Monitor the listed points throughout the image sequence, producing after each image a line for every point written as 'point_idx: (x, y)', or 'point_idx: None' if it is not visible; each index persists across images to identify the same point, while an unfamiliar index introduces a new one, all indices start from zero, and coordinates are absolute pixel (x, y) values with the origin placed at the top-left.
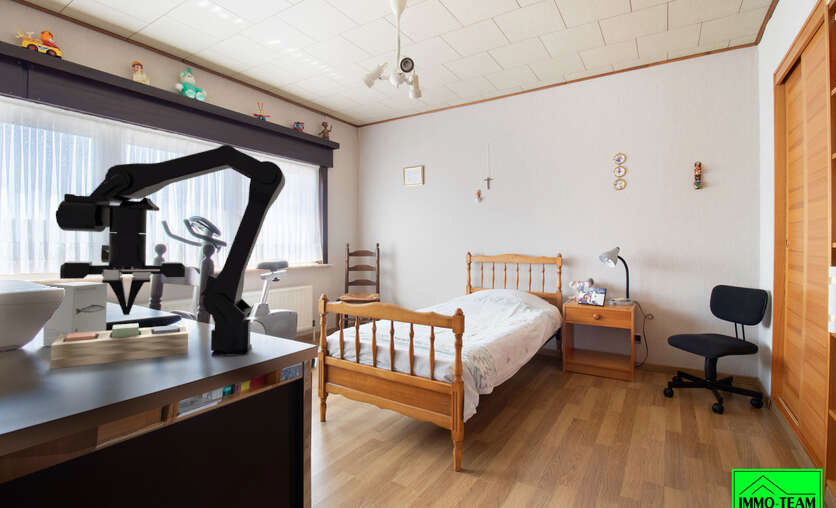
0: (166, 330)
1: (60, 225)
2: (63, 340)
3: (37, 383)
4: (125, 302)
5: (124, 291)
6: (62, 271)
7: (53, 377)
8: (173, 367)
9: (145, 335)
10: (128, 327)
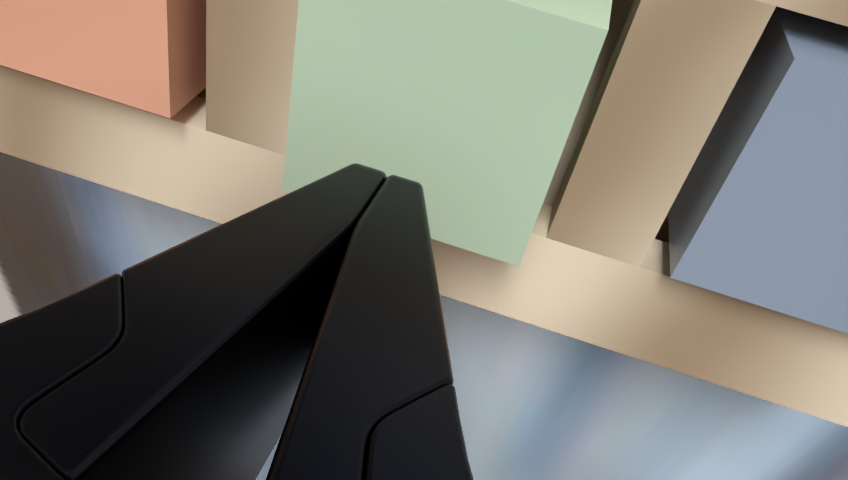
0: (790, 309)
1: None
2: None
3: (77, 268)
4: (277, 437)
5: (155, 444)
6: None
7: (116, 228)
8: (606, 462)
9: (572, 274)
10: (429, 216)
